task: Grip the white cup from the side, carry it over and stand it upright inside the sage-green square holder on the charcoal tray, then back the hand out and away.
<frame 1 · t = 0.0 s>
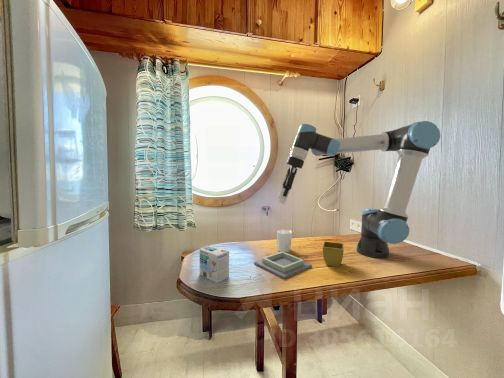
hand: (280, 201, 106), 28 cm above the table, tool tilted 20°, fingers open, 13 cm apart
holder tray: (282, 265, 101), on the table
white cup: (283, 250, 120), on the table
flower pot: (332, 264, 103), on the table
light bulb box: (214, 276, 90), on the table
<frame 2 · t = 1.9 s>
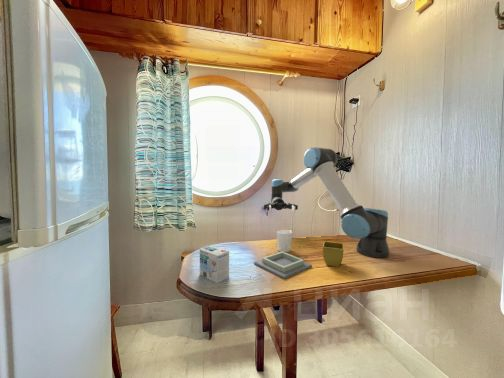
hand: (282, 209, 128), 20 cm above the table, tool horizontal, fingers open, 13 cm apart
nothing on the table moved.
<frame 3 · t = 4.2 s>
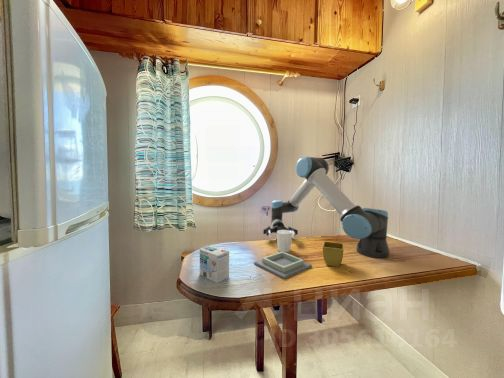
hand: (282, 235, 126), 6 cm above the table, tool horizontal, fingers open, 13 cm apart
nothing on the table moved.
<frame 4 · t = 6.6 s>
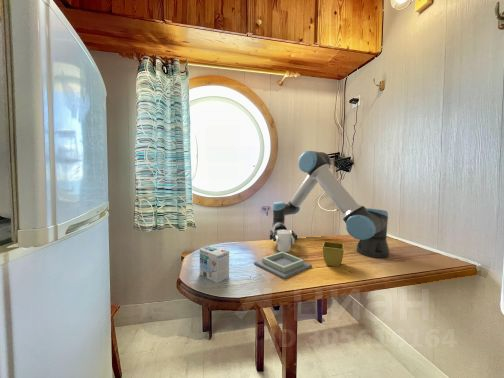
hand: (285, 241, 115), 6 cm above the table, tool horizontal, fingers closed on white cup, 8 cm apart
white cup: (283, 250, 120), on the table, touching gripper
everything else where it was.
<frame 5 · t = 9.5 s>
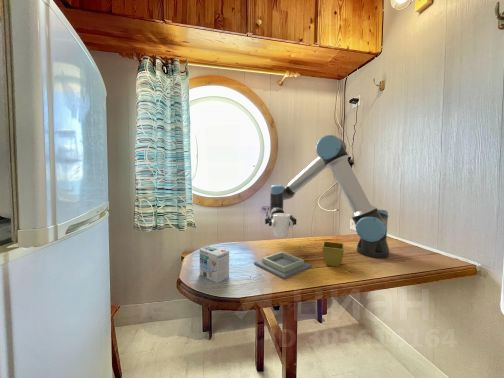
hand: (282, 225, 100), 18 cm above the table, tool horizontal, fingers closed on white cup, 8 cm apart
white cup: (281, 236, 106), point 12 cm above the table, touching gripper
everything else where it was.
when the fingers open (8 cm above the table, at t = 12.7 s): white cup drops 1 cm, resting on holder tray.
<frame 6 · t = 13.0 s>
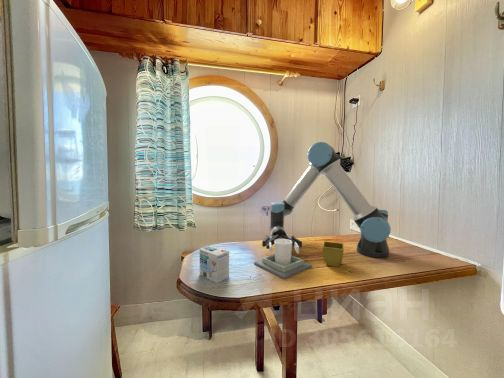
hand: (284, 250, 96), 8 cm above the table, tool horizontal, fingers open, 11 cm apart
white cup: (282, 263, 101), point 1 cm above the table, touching holder tray
everything else where it was.
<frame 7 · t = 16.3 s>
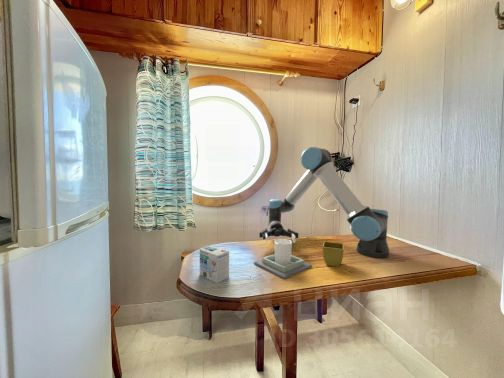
hand: (280, 239, 110), 9 cm above the table, tool horizontal, fingers open, 13 cm apart
nothing on the table moved.
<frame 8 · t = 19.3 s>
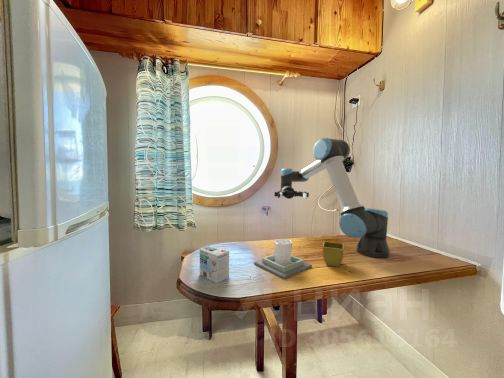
hand: (293, 196, 126), 28 cm above the table, tool horizontal, fingers open, 13 cm apart
nothing on the table moved.
at the end: white cup 0.1 cm off-centre on the holder tray, point 0.8 cm above the holder tray's base; white cup tilted 0°; the gripper is holding nothing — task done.
